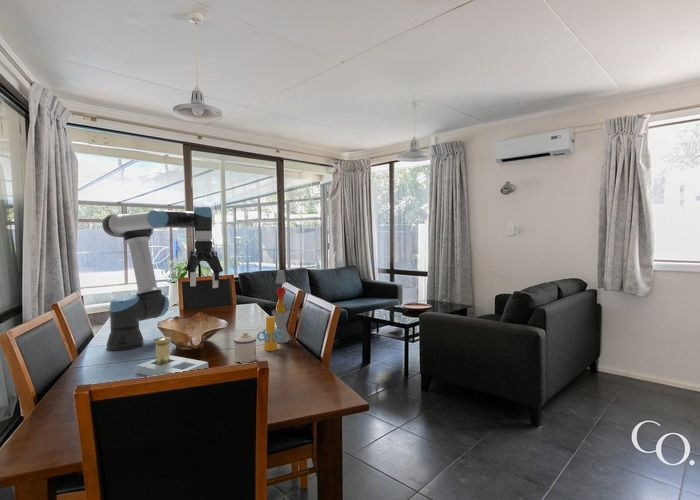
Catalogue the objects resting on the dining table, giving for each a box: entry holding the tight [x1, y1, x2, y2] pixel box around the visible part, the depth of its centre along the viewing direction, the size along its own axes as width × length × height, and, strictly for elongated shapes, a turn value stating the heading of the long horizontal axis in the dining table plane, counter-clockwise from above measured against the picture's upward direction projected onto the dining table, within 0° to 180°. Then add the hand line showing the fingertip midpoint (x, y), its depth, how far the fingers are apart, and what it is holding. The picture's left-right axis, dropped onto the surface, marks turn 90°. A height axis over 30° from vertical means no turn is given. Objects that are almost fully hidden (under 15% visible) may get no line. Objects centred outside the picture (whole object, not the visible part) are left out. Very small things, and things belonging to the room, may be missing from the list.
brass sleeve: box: [152, 336, 172, 366], centre depth 148 cm, size 6×6×12 cm
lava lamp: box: [271, 269, 291, 344], centre depth 188 cm, size 9×9×35 cm
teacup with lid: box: [233, 331, 257, 364], centre depth 161 cm, size 12×9×12 cm
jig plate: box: [136, 355, 209, 377], centre depth 146 cm, size 22×14×3 cm, turn 65°
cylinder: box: [256, 315, 284, 352], centre depth 174 cm, size 12×10×15 cm
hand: (204, 287), depth 174 cm, fingers open, 13 cm apart
